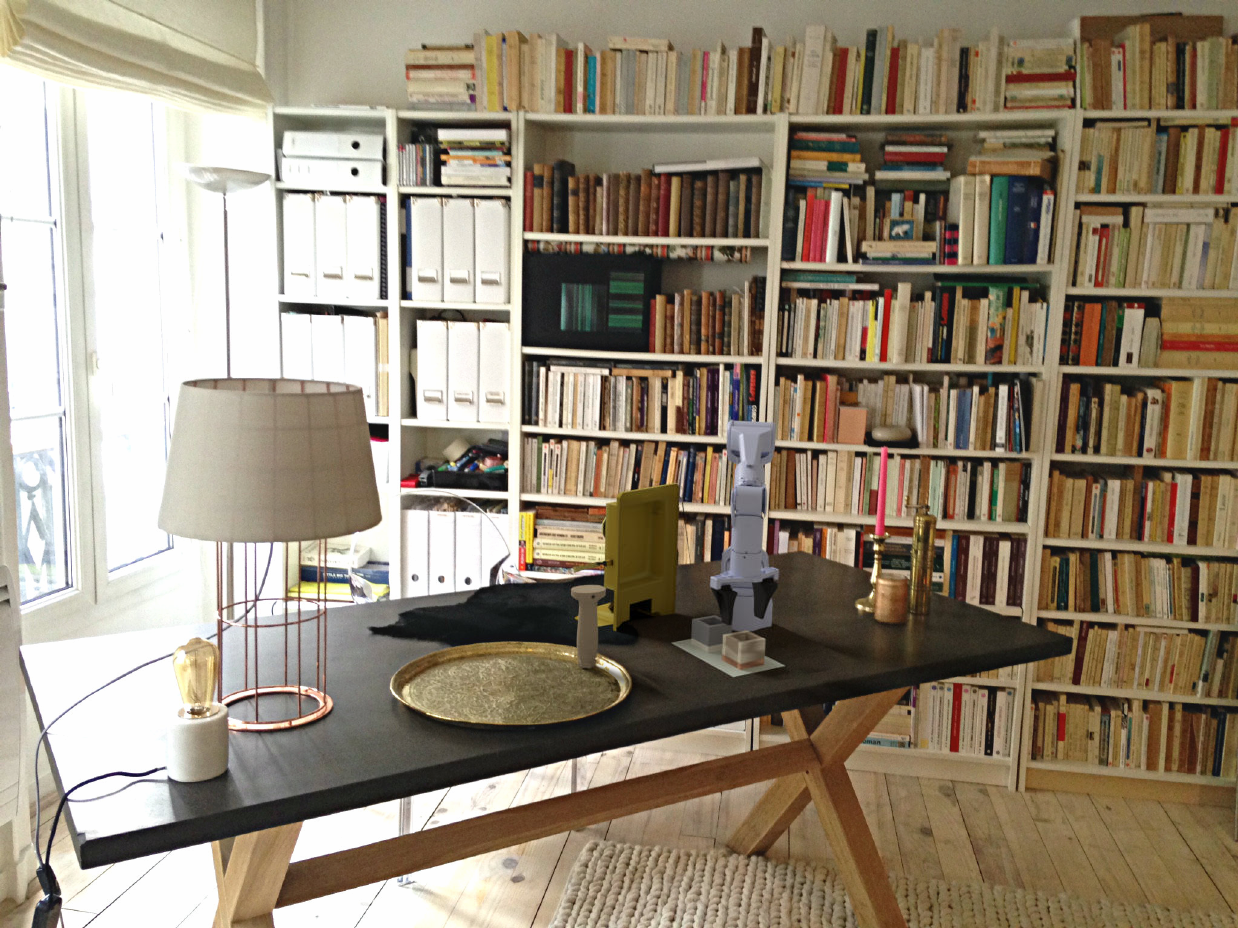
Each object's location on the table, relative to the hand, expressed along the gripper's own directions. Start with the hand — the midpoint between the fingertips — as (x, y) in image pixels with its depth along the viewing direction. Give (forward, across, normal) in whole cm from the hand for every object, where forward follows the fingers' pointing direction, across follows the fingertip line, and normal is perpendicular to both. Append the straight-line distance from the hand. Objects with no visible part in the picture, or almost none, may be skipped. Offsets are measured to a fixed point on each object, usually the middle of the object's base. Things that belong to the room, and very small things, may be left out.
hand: (742, 620), depth 189 cm
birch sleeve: (+8, 0, -1) cm, 8 cm away
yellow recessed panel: (+10, -4, +34) cm, 36 cm away
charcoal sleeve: (+8, 0, +9) cm, 12 cm away
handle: (+10, -25, +14) cm, 30 cm away
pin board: (+9, 0, +4) cm, 10 cm away
